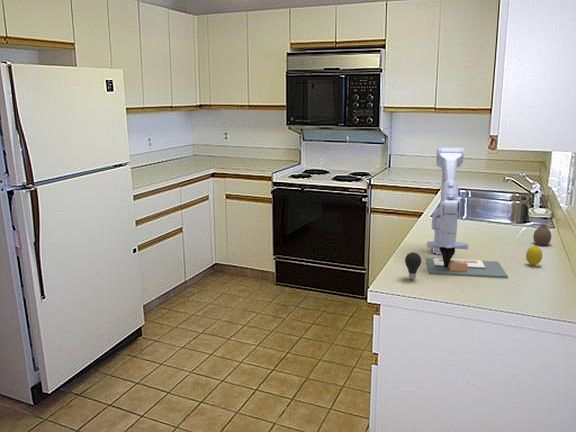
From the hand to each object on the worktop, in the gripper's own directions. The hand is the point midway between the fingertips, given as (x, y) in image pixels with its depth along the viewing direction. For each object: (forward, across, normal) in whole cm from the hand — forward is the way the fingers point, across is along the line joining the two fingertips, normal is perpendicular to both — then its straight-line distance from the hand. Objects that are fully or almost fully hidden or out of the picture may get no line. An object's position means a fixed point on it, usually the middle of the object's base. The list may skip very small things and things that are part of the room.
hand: (445, 266), depth 187 cm
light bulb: (+2, -13, -11) cm, 17 cm away
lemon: (+2, +33, +12) cm, 35 cm away
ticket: (+2, +5, +7) cm, 9 cm away
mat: (+2, +7, +4) cm, 9 cm away
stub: (+2, +4, 0) cm, 5 cm away
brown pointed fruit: (+2, +44, +40) cm, 60 cm away
